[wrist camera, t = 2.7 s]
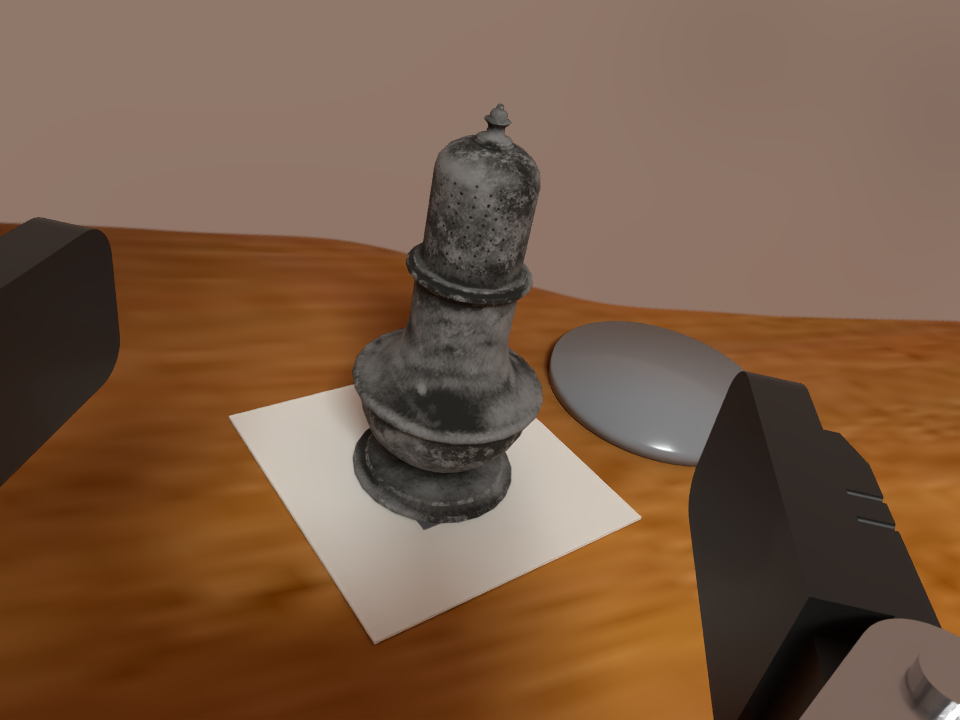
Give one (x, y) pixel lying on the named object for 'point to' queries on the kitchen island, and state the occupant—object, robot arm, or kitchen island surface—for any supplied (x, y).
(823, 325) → the kitchen island surface
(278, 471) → the card
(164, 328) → the kitchen island surface
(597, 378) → the coaster
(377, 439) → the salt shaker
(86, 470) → the kitchen island surface
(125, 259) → the kitchen island surface
